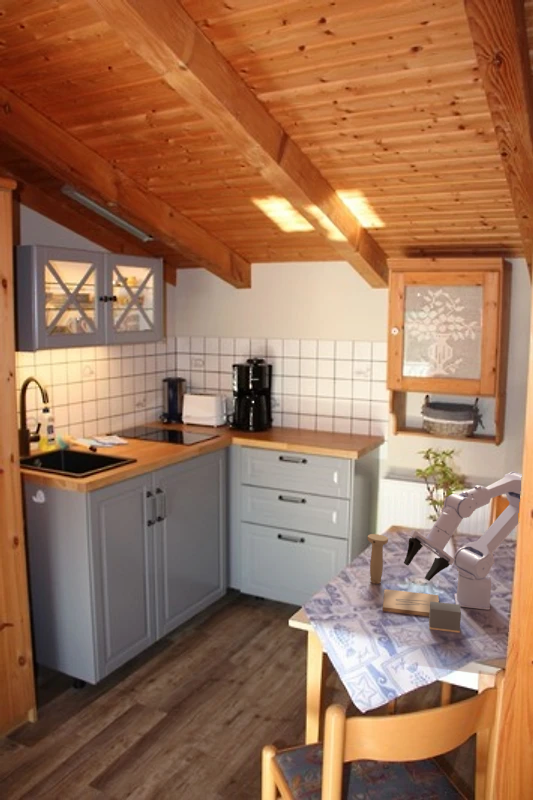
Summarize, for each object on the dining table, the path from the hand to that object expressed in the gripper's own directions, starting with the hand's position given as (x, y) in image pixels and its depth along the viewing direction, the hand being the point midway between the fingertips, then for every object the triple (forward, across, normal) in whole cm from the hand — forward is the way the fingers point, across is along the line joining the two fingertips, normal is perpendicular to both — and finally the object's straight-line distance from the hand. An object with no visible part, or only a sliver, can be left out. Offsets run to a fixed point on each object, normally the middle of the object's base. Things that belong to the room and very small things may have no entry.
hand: (416, 572), depth 187 cm
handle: (+9, +2, +25) cm, 27 cm away
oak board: (+8, +8, +9) cm, 15 cm away
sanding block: (+8, +14, -4) cm, 16 cm away
